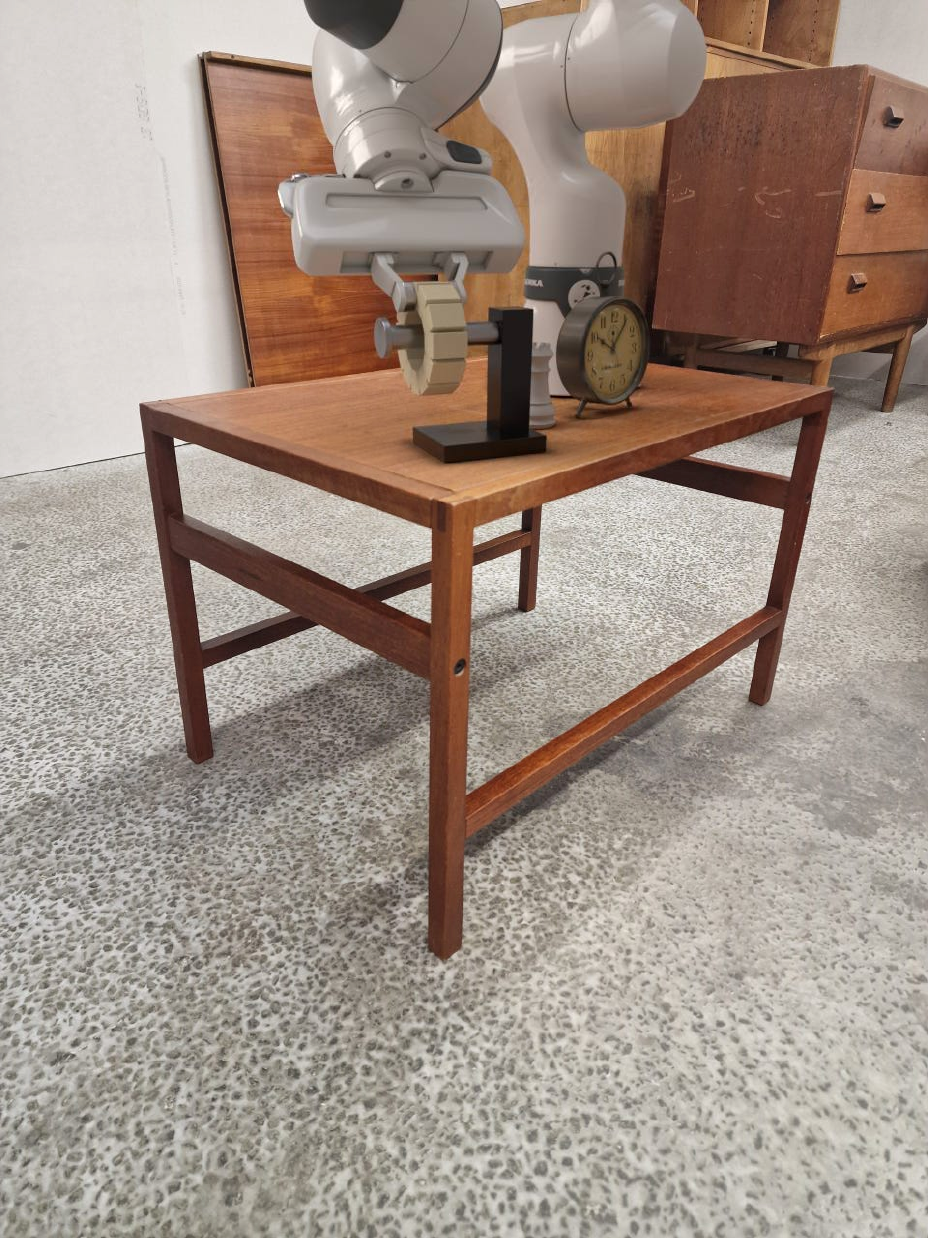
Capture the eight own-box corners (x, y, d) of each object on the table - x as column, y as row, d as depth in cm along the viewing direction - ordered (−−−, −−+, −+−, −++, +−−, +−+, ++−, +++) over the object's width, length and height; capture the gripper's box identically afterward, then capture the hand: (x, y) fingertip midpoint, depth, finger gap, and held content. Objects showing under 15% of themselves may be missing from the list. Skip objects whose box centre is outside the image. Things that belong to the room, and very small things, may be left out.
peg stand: (507, 433, 79) (510, 303, 74) (546, 452, 73) (553, 311, 67) (371, 446, 74) (364, 308, 69) (399, 468, 68) (394, 317, 62)
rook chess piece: (553, 420, 85) (557, 340, 81) (559, 429, 81) (563, 346, 77) (511, 420, 85) (513, 340, 81) (514, 429, 81) (517, 346, 77)
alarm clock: (580, 422, 84) (591, 252, 77) (543, 414, 88) (551, 251, 81) (647, 409, 90) (663, 250, 83) (610, 401, 94) (622, 249, 87)
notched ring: (397, 385, 73) (394, 279, 70) (428, 383, 75) (427, 278, 71) (433, 403, 66) (432, 285, 62) (467, 400, 67) (468, 284, 63)
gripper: (275, 141, 64) (314, 280, 60) (505, 151, 71) (553, 276, 67) (269, 205, 70) (305, 336, 66) (483, 209, 77) (526, 327, 73)
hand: (433, 306), depth 67 cm, fingers closed on notched ring, 3 cm apart
